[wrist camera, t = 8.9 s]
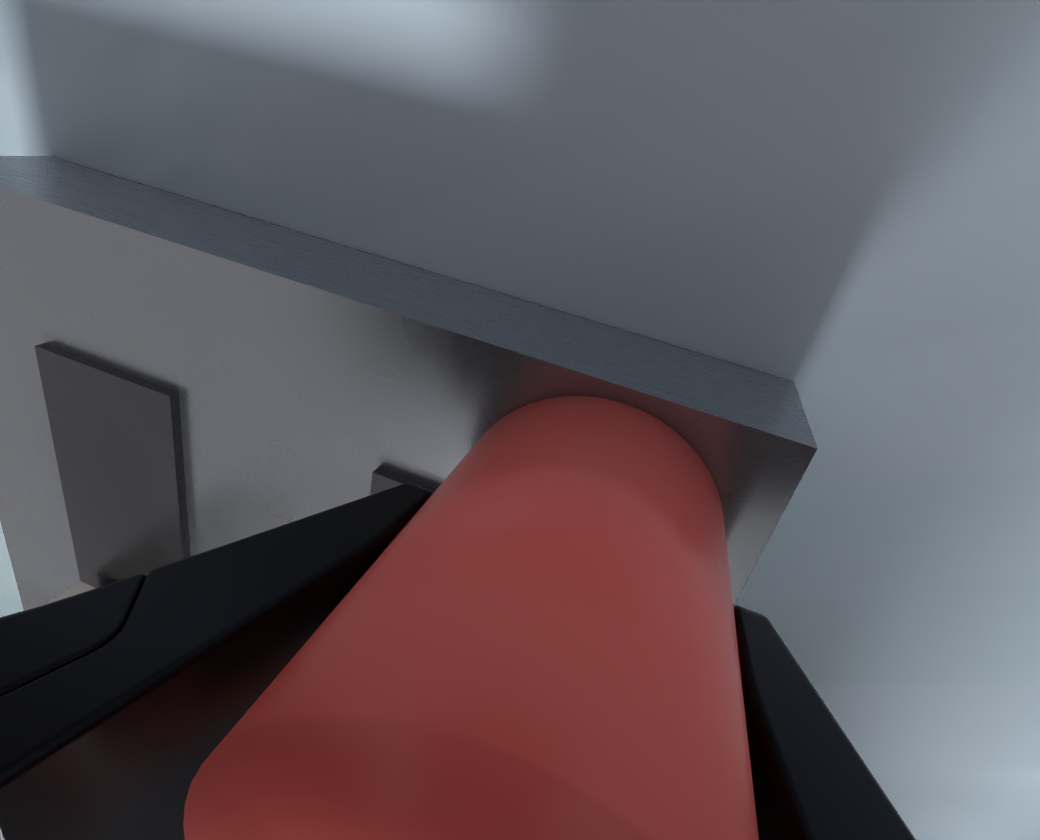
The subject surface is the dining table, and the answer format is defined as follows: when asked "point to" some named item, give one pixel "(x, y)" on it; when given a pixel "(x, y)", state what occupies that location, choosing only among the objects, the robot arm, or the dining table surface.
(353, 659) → the red rounded cylinder
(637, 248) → the dining table surface
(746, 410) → the panel
